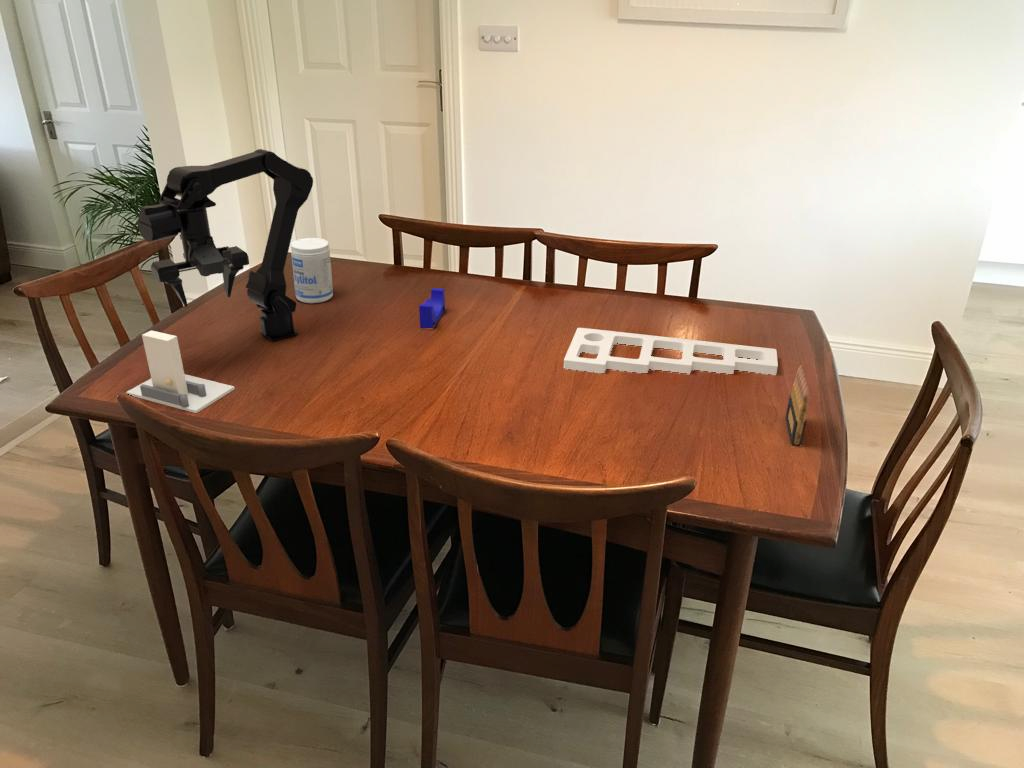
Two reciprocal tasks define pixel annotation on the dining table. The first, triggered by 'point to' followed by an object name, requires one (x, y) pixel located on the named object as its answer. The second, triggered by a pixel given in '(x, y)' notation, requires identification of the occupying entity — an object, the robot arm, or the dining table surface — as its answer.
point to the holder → (604, 342)
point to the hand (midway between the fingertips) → (207, 301)
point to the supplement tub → (312, 270)
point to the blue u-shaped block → (432, 308)
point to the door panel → (165, 362)
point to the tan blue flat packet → (797, 408)
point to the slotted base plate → (197, 399)
